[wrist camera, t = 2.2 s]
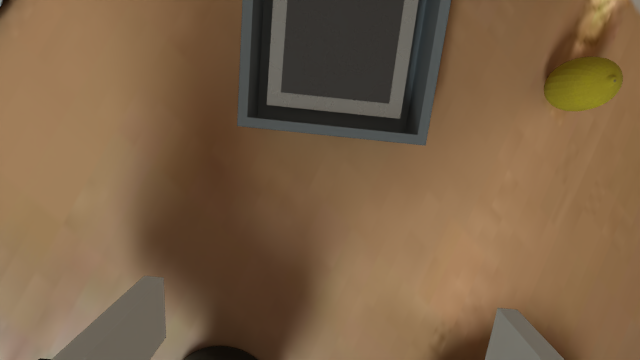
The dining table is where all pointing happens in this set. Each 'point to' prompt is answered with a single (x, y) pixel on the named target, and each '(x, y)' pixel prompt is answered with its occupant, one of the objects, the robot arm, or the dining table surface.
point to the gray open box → (401, 130)
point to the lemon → (583, 83)
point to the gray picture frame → (341, 55)
